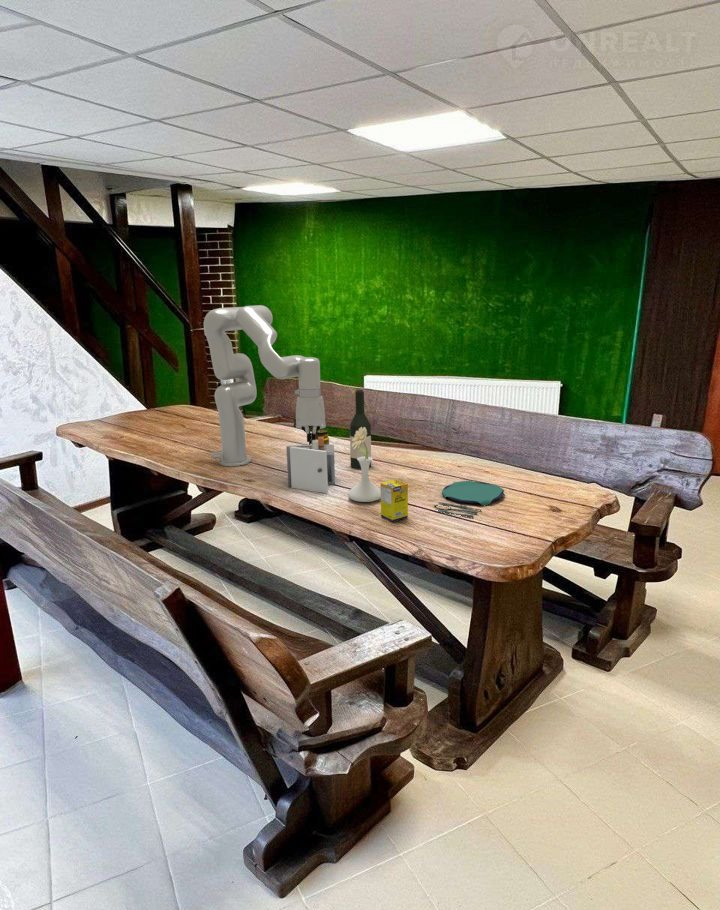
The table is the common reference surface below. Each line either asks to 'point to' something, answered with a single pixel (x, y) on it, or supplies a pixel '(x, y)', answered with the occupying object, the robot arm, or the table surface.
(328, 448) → the white slider console
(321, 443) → the fader
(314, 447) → the fader
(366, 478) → the flower in vase
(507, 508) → the table surface
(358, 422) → the wine bottle
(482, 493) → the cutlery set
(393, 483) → the supplement box
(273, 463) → the table surface
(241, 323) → the robot arm
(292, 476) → the door
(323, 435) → the condiment
